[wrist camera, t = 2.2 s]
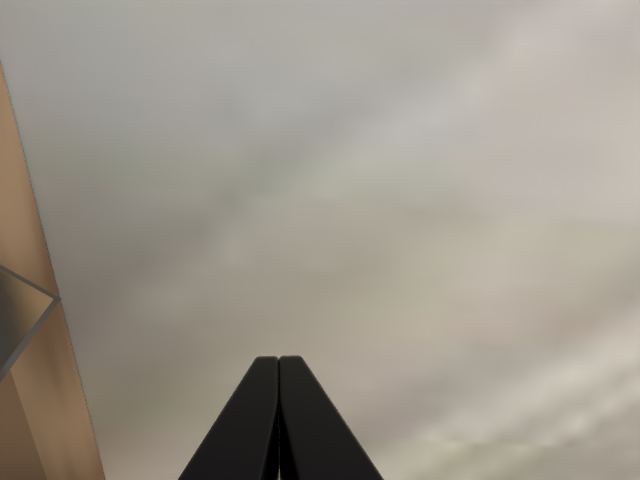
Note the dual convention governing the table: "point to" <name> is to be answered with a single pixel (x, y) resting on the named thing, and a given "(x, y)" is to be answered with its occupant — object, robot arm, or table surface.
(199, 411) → the table surface
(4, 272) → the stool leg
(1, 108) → the brown wooden block
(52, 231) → the table surface
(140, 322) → the table surface
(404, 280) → the table surface
